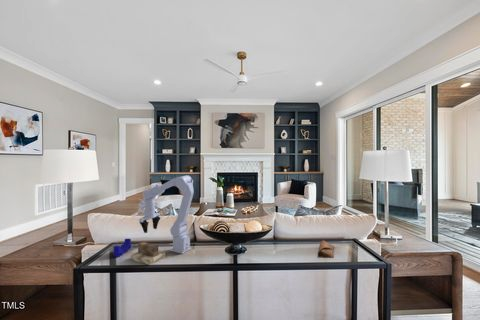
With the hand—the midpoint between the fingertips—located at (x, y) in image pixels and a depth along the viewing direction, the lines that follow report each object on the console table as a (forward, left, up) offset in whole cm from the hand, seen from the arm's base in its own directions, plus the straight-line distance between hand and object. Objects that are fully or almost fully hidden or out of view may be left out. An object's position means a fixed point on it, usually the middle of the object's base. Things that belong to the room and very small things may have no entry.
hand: (150, 230), depth 149 cm
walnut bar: (-12, +13, -7) cm, 19 cm away
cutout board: (-12, +13, -9) cm, 20 cm away
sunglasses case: (-99, -39, -10) cm, 106 cm away
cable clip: (+8, +14, -10) cm, 19 cm away
